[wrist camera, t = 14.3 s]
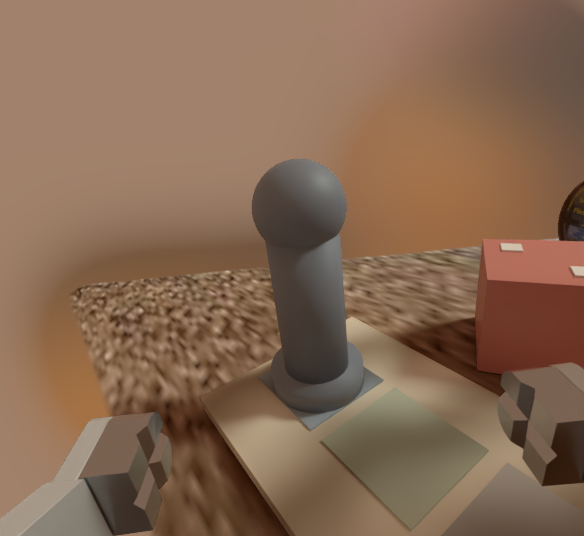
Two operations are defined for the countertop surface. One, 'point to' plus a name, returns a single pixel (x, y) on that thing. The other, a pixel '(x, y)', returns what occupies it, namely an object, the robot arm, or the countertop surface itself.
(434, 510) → the board
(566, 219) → the tin
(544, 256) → the die
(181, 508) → the countertop surface
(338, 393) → the pawn
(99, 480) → the robot arm
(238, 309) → the countertop surface
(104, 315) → the countertop surface
